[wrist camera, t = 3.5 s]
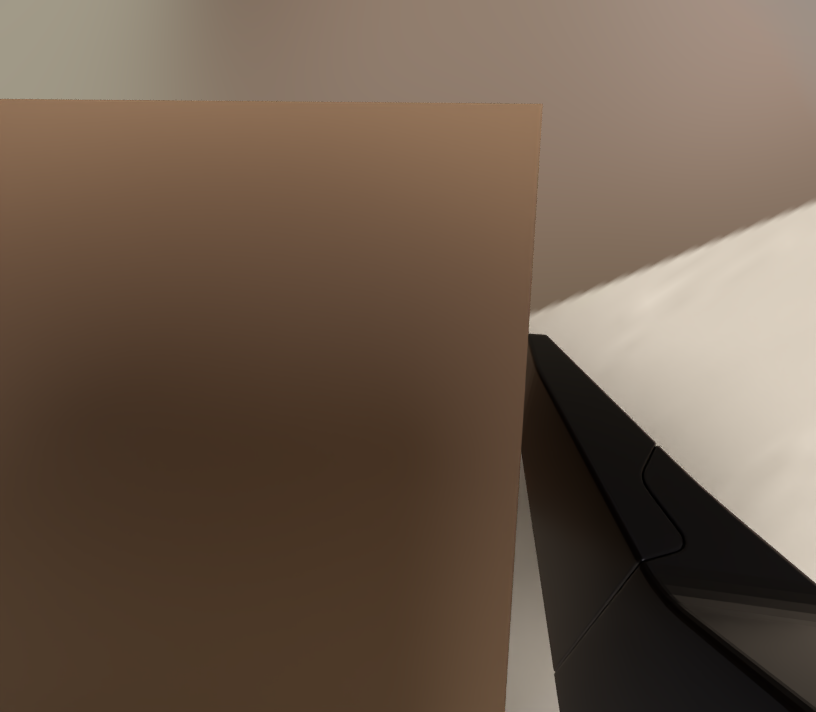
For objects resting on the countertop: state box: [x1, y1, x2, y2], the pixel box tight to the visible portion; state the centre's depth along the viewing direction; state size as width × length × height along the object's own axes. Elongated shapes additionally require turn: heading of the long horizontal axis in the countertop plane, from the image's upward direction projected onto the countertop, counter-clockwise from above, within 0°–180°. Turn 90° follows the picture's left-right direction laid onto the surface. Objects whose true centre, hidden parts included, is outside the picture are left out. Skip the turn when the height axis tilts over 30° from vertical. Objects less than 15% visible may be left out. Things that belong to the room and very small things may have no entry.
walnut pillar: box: [0, 99, 543, 712], centre depth 9 cm, size 5×5×12 cm
